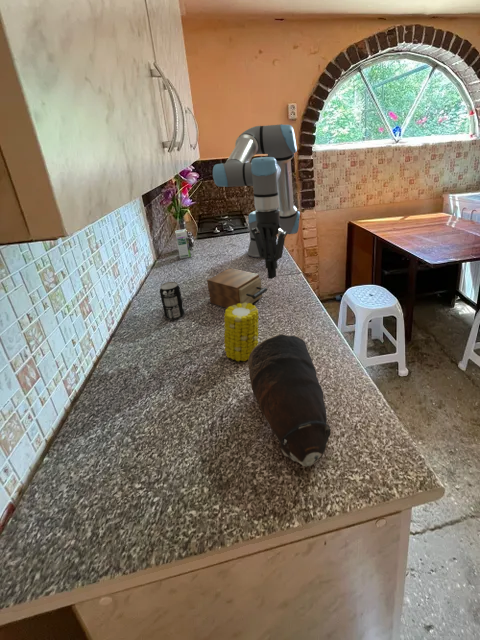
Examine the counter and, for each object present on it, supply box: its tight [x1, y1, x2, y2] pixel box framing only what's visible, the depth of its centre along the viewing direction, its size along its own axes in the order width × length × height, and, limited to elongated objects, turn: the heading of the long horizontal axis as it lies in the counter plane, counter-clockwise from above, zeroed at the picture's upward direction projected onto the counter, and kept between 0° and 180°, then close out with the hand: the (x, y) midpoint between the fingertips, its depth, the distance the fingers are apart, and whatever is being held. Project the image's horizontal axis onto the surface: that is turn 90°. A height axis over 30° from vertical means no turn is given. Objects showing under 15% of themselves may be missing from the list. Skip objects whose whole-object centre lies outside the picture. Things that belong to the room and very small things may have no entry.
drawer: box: [239, 276, 268, 305], centre depth 115 cm, size 18×11×8 cm, turn 58°
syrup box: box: [174, 228, 192, 260], centre depth 166 cm, size 6×6×14 cm
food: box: [223, 302, 260, 362], centre depth 87 cm, size 15×12×10 cm
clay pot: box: [247, 333, 332, 467], centre depth 64 cm, size 15×15×25 cm
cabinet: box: [206, 267, 260, 309], centre depth 117 cm, size 15×13×10 cm
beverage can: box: [159, 281, 185, 321], centre depth 108 cm, size 7×7×12 cm
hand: (272, 277), depth 105 cm, fingers closed
